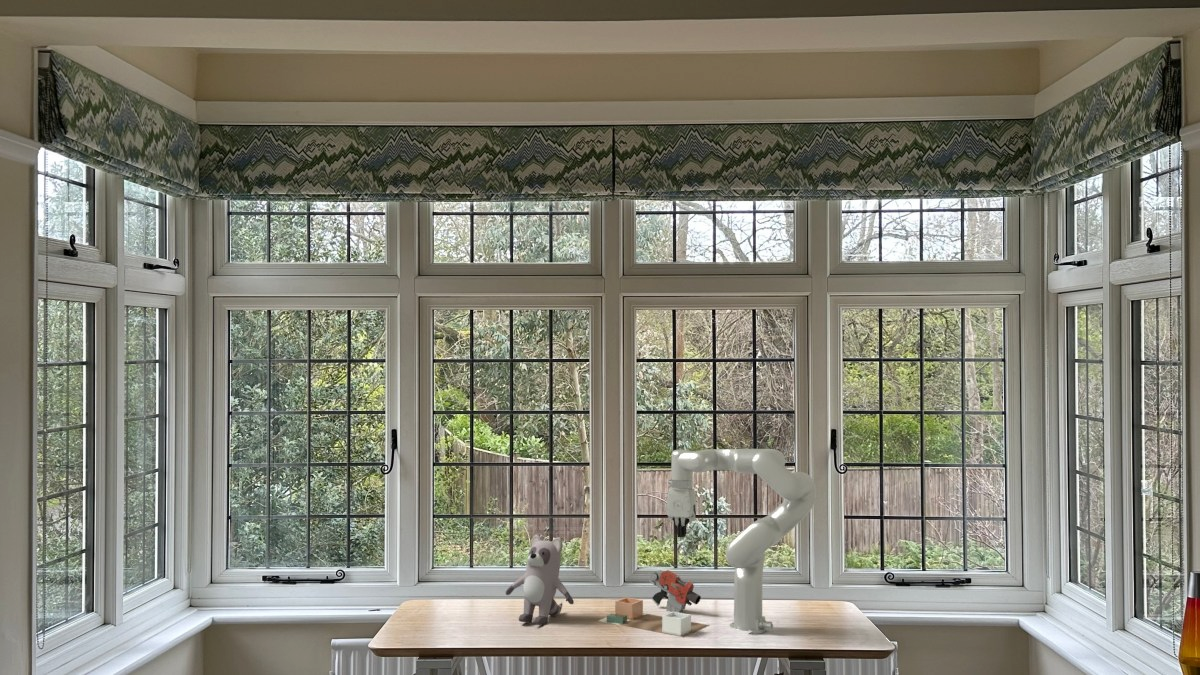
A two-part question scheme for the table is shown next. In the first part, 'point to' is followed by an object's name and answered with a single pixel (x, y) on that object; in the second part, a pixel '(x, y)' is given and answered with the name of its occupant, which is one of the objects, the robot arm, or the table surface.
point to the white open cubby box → (676, 623)
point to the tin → (617, 618)
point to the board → (654, 624)
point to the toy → (541, 581)
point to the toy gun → (673, 591)
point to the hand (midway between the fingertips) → (681, 536)
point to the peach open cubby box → (629, 608)
